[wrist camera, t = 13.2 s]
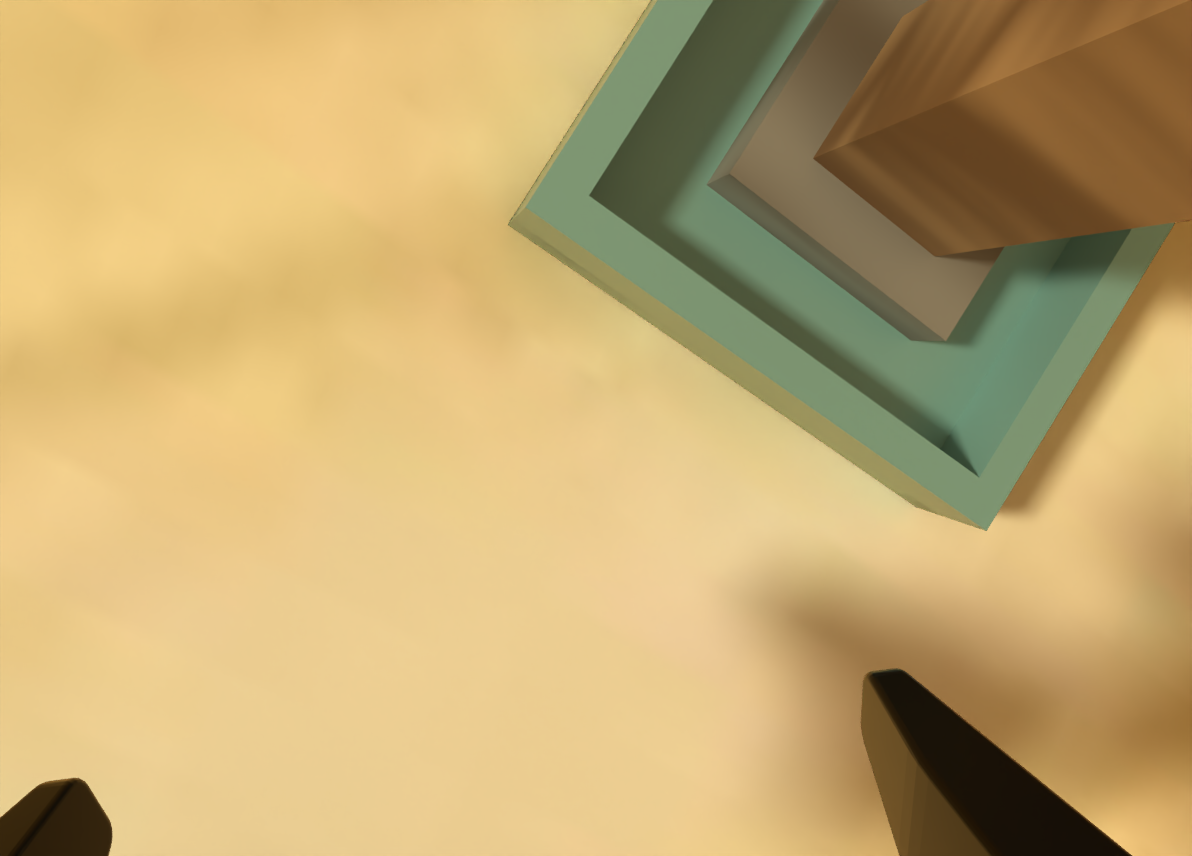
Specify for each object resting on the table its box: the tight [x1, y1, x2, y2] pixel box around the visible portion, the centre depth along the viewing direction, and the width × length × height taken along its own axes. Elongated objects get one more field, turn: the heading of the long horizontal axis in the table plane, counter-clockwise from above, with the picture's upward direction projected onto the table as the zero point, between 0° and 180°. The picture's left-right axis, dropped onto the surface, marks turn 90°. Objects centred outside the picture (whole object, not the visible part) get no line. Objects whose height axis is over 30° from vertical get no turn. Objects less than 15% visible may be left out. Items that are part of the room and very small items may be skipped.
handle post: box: [707, 0, 1192, 341], centre depth 15 cm, size 7×7×13 cm
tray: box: [508, 0, 1175, 531], centre depth 21 cm, size 14×14×3 cm
